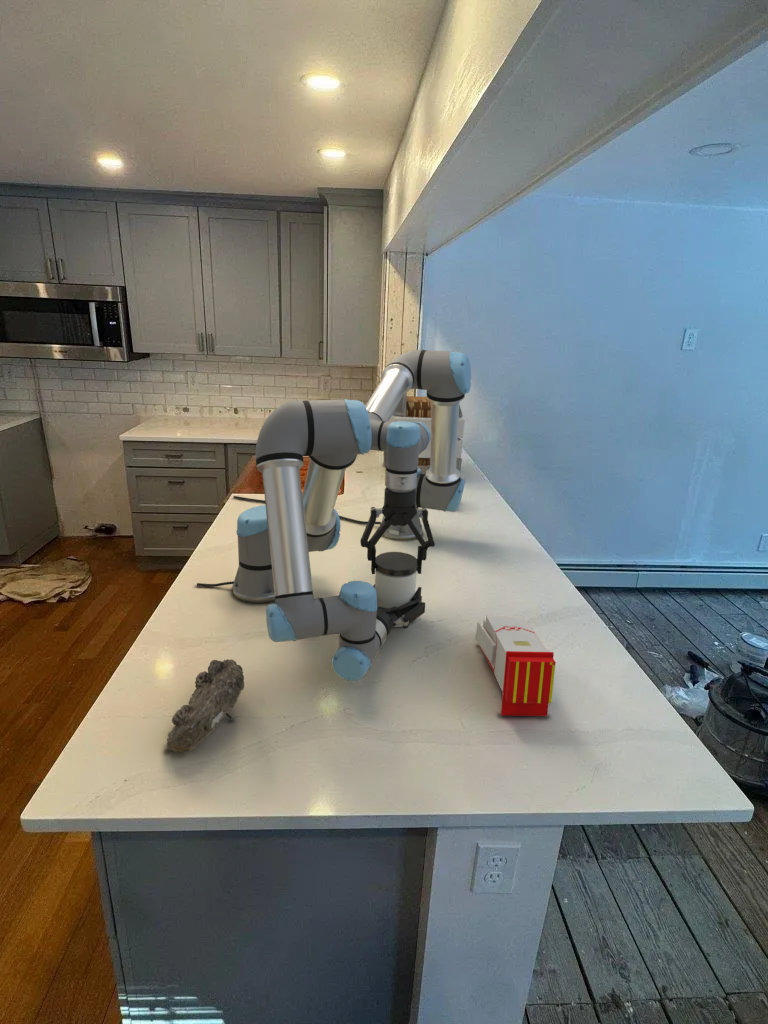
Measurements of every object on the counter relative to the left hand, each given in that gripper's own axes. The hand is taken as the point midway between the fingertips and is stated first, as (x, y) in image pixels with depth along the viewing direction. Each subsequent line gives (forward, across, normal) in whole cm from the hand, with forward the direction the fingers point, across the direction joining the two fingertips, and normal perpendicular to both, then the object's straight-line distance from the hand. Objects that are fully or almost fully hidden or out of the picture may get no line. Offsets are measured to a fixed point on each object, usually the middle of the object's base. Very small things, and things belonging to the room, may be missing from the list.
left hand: (399, 587), depth 148 cm
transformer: (+130, -27, -6) cm, 133 cm away
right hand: (-4, 0, +7) cm, 8 cm away
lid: (-4, 0, +9) cm, 10 cm away
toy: (-19, +31, -6) cm, 37 cm away
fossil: (-53, -21, -6) cm, 57 cm away
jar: (-4, 0, -6) cm, 7 cm away
